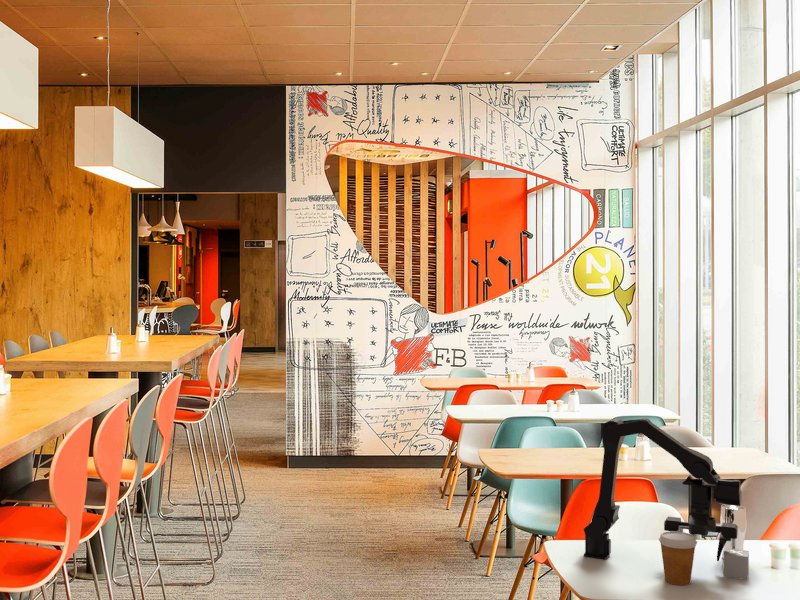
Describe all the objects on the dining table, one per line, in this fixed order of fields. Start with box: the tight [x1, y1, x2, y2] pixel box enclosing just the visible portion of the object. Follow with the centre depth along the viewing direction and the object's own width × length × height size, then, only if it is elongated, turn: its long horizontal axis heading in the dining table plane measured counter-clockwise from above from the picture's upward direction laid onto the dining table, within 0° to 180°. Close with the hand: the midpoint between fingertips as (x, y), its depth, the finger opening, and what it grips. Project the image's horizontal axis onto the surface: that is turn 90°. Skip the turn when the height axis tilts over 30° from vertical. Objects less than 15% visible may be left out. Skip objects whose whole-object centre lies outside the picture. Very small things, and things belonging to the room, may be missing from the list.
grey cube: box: [722, 548, 750, 580], centre depth 223 cm, size 6×6×6 cm
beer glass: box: [719, 504, 747, 560], centre depth 237 cm, size 7×7×15 cm
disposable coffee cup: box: [658, 531, 698, 586], centre depth 217 cm, size 10×10×12 cm
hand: (700, 558), depth 227 cm, fingers open, 9 cm apart
